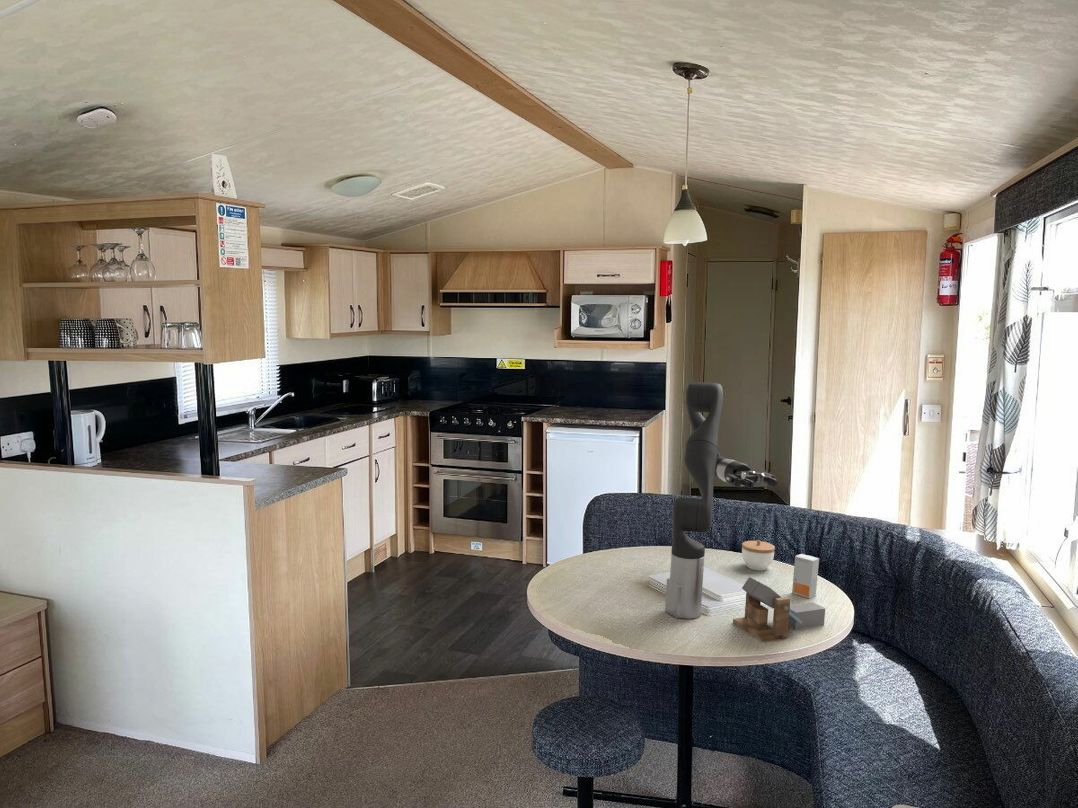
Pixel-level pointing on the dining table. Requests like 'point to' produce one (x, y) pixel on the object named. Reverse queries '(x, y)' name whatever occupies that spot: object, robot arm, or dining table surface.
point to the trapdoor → (764, 594)
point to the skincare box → (805, 575)
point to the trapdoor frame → (765, 619)
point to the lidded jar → (757, 554)
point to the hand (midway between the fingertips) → (764, 484)
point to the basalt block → (807, 615)
